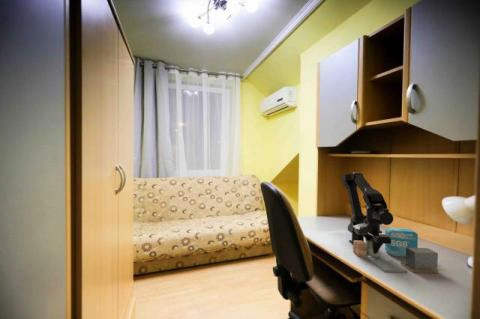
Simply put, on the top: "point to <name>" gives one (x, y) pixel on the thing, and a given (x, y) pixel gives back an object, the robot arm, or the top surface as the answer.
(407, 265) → the mounted unit
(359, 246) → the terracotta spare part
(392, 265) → the pad
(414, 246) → the data package
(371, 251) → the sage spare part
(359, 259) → the top surface
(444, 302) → the top surface
